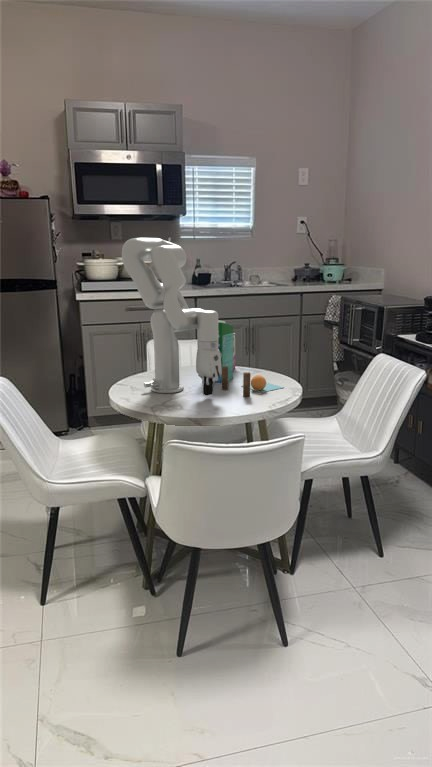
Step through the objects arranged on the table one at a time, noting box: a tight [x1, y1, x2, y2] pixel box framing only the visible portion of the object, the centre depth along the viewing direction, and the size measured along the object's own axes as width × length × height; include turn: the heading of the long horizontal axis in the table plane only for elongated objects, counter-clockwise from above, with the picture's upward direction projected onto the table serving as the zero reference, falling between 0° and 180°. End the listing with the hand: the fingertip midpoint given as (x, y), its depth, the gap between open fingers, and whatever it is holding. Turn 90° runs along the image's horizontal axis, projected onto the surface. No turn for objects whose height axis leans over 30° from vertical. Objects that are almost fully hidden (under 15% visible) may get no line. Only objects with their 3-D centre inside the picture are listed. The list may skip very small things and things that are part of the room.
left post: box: [221, 366, 229, 391], centre depth 205 cm, size 3×3×9 cm
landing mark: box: [241, 381, 285, 393], centre depth 210 cm, size 12×12×1 cm
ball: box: [250, 374, 267, 392], centre depth 204 cm, size 6×6×6 cm
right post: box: [242, 371, 251, 398], centre depth 195 cm, size 3×3×9 cm
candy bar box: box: [233, 332, 236, 371], centre depth 237 cm, size 11×5×16 cm, turn 168°
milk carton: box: [214, 319, 234, 384], centre depth 219 cm, size 9×9×25 cm
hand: (208, 394), depth 193 cm, fingers closed
